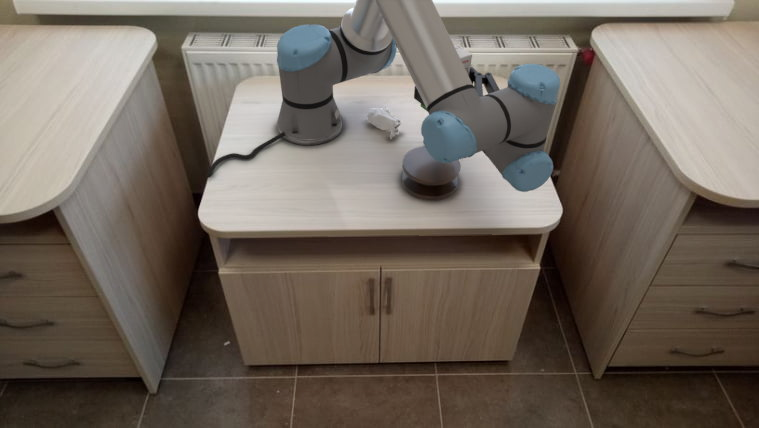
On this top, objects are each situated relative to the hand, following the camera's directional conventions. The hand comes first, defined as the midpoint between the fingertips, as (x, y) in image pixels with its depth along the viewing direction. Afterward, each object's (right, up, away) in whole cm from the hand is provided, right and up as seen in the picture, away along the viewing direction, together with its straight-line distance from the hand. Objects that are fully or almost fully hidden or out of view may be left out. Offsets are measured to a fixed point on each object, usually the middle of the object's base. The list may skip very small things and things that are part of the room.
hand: (436, 67), depth 112 cm
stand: (-1, -24, +4) cm, 24 cm away
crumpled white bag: (-11, -10, +19) cm, 24 cm away
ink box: (+1, -8, +2) cm, 8 cm away
